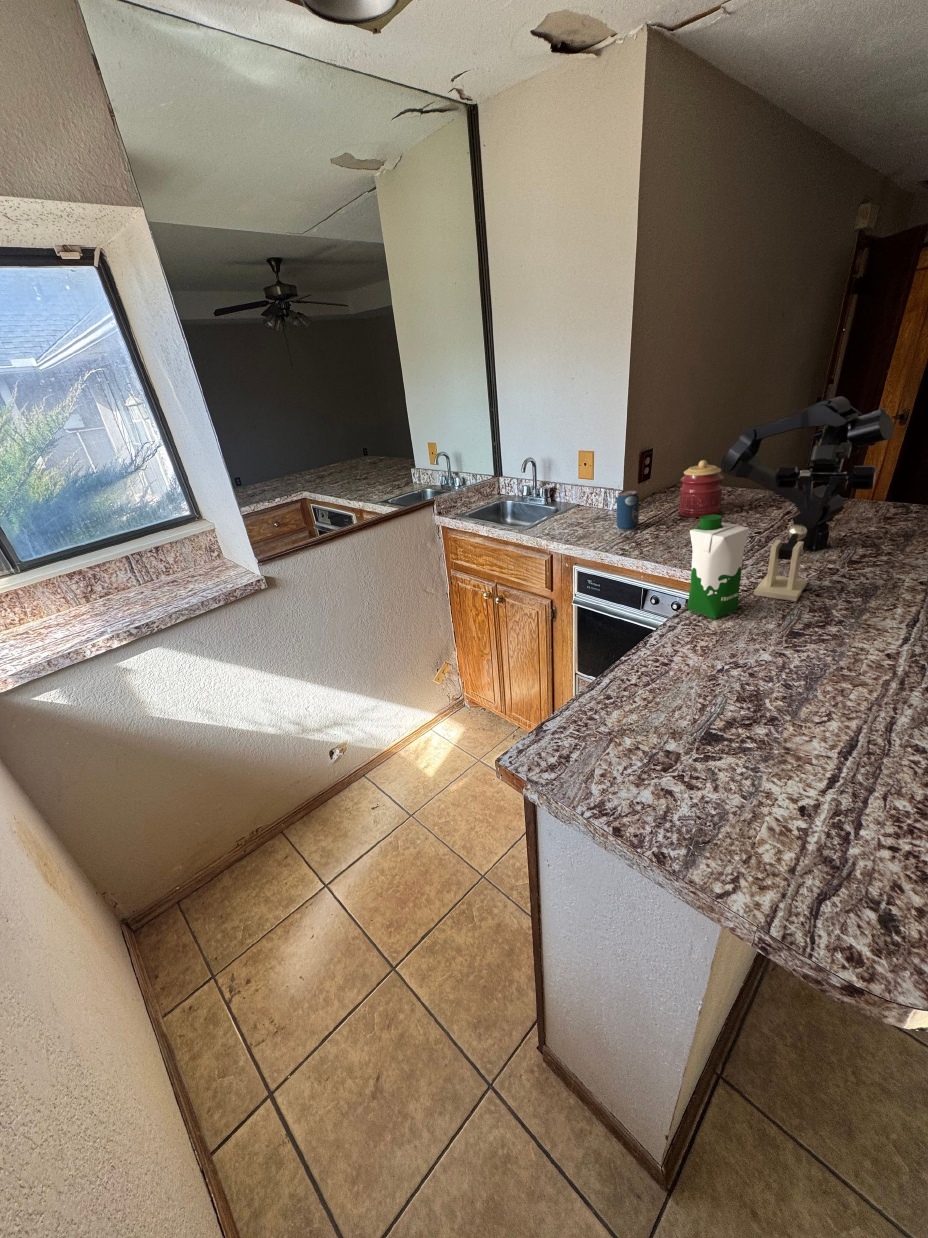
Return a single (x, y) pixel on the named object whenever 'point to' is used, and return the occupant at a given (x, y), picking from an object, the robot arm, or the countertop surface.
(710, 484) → the kitchen canister
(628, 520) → the soda can
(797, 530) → the switch lever
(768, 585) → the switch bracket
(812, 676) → the countertop surface
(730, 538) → the milk carton
